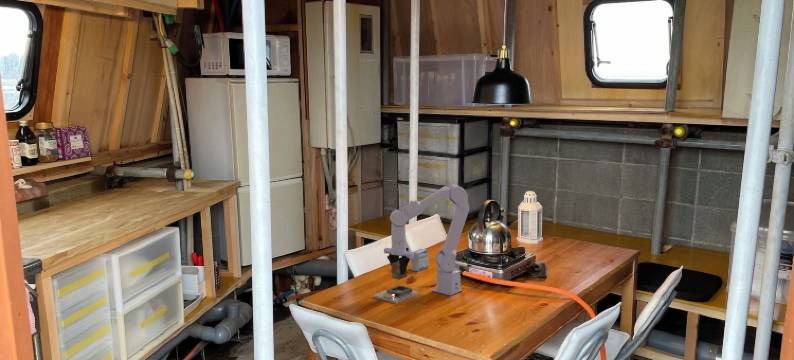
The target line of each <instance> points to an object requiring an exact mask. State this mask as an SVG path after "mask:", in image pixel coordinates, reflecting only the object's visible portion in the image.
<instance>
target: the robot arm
mask: <svg viewBox="0 0 794 360" xmlns="http://www.w3.org/2000/svg"><path fill="white" fill-rule="evenodd" d="M468 197H469V196H468V193H467V192H466V190H465V188H463V187H462V186H460V185H458V184H456V183H449V184H447V185H445V186H443V187H441V188H439V189H438V190H436V191H435V192H433V193H432V194H430V195H428V196H426V197H425V198H423V199H422V200H420V201H418V200H411V201H409V203H408V204H406V205H404V206H400V207H399V209H396V210H395V209H394V210H393V211H392V212H391V213H390V216H389V220H390V222H391V232H390V233H391V236H390V237H391V247H385V248H383V254H388V255H387V256H386V259H387V260H388V262H389V264H390V266H391V268H392V263H395V262H398V261H399V263H400V272H401V275H403V274H405V273H406V269H407V270H408V268H407V267H408V265H409V263H410V262H411V259H413V258H414V253H411V252H412V251H408V250H407V241H406V240H407V239H406V238H407V237H406V235H407V234H406V230H407V229H406V224H407V222H408V221H410V220H412V219H414V218H417V216H419V215H421V214H422V213H423V212H424V210H425V209H426V208H428V207H431V206H432V205H434V204H436V203H438V202H441V201H448V202H450V201H451V202H452V204H453V207H455V210H454V214H453V217H452V219H451V222H450V226H449V229H448V231H447V234H446V238H445V240H444V243H443V245H441V247H440V248H439V249H440V250H439V251H438V252H437V253H436V255H435V257H434V258H435V259H434V262H435V263H436V265H437V267H436V288H434V289H432V292H435V293H438V294H439V293H440V294H442V295H447V296H453V295H456V294H458V293H459V292H462V289H461V285H462V284H461V283H462V282H461V281H462V280H461V277H462V276H461V274H460V273H459V272H458V271H456V270H455V268H456V265H457V264H456V262H457V261H456V258H457V247H458V244H459V242H460V238H461V235H462V232H463V229H464V226H465V224H466V221H467V218H468V214H469V211H470V203H469V199H468Z"/></svg>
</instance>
